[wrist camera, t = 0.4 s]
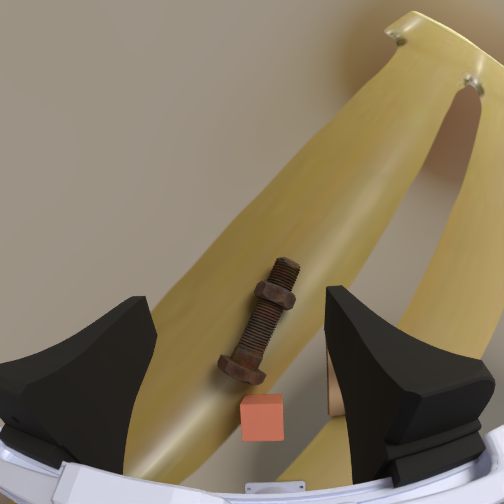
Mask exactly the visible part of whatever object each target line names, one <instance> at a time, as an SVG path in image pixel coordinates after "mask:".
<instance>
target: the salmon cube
mask: <svg viewBox="0 0 504 504" xmlns="http://www.w3.org/2000/svg"><path fill="white" fill-rule="evenodd" d="M240 412H241V427H242V441H278V440H284V432H283V403H282V394H264V395H245V396H244V398H243V400H242V402H241V404H240Z"/></svg>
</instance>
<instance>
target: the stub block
mask: <svg viewBox="0 0 504 504" xmlns="http://www.w3.org/2000/svg"><path fill="white" fill-rule="evenodd" d="M326 354H327V355H326V356H327V381H328V382H327V383H328V414H329V416H336V415H344V414H345V409H344V403H343V399H342V395H341V391H340V388H339V385H338V382H337V378H336V375H335V372H334V369H333V365H332V362H331V359H330V356H329V352H328V348H327V343H326Z"/></svg>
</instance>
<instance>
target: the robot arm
mask: <svg viewBox="0 0 504 504" xmlns="http://www.w3.org/2000/svg"><path fill="white" fill-rule="evenodd" d="M324 330H325V337H326V343H327V348H328V352H329V356H330V359H331V362H332V365H333V369H334V372H335V375H336V378H337V382H338V385H339V388H340V391H341V395H342V399H343V403H344V409H345V416H346V422H347V429H348V437H349V445H350V454H351V465H352V480H353V485H350V486H344V487H338V488H331V489H323V490H315V491H305V482H304V481H290V482H267V483H246V484H245V494H231V493H212V492H206V491H203V490H200V489H194V488H188V487H183V486H178V485H172V484H165V483H159V482H153V481H147V480H142V479H137V478H132V477H128V476H123V462H124V453H125V446H126V439H127V433H128V428H129V423H130V418H131V414H132V410H133V406H134V402H135V399H136V396H137V394H138V391H139V389H140V386H141V384H142V381H143V379H144V376H145V374H146V371H147V369H148V366H149V363H150V361H151V358H152V356H153V352H154V348H155V344H156V339H157V332H156V329H155V326H154V323H153V320H152V317H151V314H150V310H149V307H148V304H147V300H146V297H145V296H133V297H130V298H128V299H127V300H125V301H124V302H122V303H121V304H119V305H118V306H116V307H115V308H113V309H112V310H111V311H109V312H108V313H106V314H105V315H104V316H102V317H101V318H99V319H98V320H96V321H95V322H93V323H92V324H90V325H89V326H87V327H86V328H84V329H83V330H81V331H80V332H78V333H77V334H75V335H73V336H72V337H70V338H68V339H66V340H65V341H62V342H61V343H59V344H57V345H54V346H52V347H50V348H48V349H46V350H43V351H41V352H38V353H36V354H33V355H30V356H27V357H24V358H21V359H18V360H14V361H10V362H5V363H1V364H0V418H1V419H2V420H3V422H4V423H5V425H4V427H3V428H1V427H0V492H1V493H3V494H4V495H5V496H7V497H9V498H10V499H12V500H13V501H15V502H16V503H18V504H503V503H504V425H502V426H500V427H498V428H496V429H494V430H492V431H490V432H489V433H487V434H486V435H484V436H483V437H482V438H481V436H480V434H479V432H478V431H479V430H480V429H481V424H480V421H479V420H478V417H479V416H480V414H481V413H482V411H483V410H484V408H485V407H486V405H487V404H488V402H489V401H490V399H491V397H492V395H493V393H494V388H495V380H494V378H493V376H492V375H491V373H490V372H489V370H488V369H487V368H486V366H485V364H484V363H483V362H482V360H478V359H474V358H470V357H465V356H461V355H457V354H454V353H451V352H448V351H445V350H442V349H439V348H436V347H434V346H431V345H429V344H427V343H424V342H422V341H420V340H418V339H416V338H414V337H412V336H410V335H408V334H406V333H404V332H403V331H401V330H399V329H397V328H396V327H394V326H393V325H391V324H390V323H388V322H386V321H385V320H384V319H382V318H381V317H380V316H378V315H377V314H376V313H374V312H373V311H372V310H370V309H369V308H368V307H367V306H365V305H364V304H363V303H362V302H360V301H359V300H358V299H357V298H356V297H355V296H354V295H352V294H351V293H350V292H349V291H348V290H347V289H345V288H344V287H343V286H342V285H340V286H328V287H326V304H325V323H324ZM300 486H303V487H302V488H301V487H300ZM247 488H250V489H247Z"/></svg>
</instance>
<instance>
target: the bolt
mask: <svg viewBox="0 0 504 504" xmlns="http://www.w3.org/2000/svg"><path fill="white" fill-rule="evenodd" d="M276 260H277V261H275V266H273V269H272V270H273V271H271V273H270V276H269V278H268V281H267V282H266V281H261V282H259V283H258V284H257V286H256V288H255V290H254V293H255V296H256V297H257V298H259V299H258V300H259V302H257V303H258V304H256V306H257V307H255V310H254V312H252V313H253V315H251V316H252V317H250V319H251V320H249V321H250V322H249V323H248V324H249V325H247V328H246V330H245V333H243V334H244V335H242V337H243V338H241V340H240V343H238V345H237V346H236V348H235V350H234V352H233V354H232V356H231V357H229V356H225V355H222V354H221V356H220V358H219V360H218V362H217V363H218V367H219V369H220V370H221V371H223V372H224V373H226V374H228V375H229V376H231V377H233V378H235V379H237V380H240V381H243V382H245V383H248V384H252V385H259V384H261V383H263V381H264V379H265V377H266V374H265V373H263V372H262V371H260V370H259V369H258V367H259V365H260V363H261V361H262V357H263V354H264V352H263V351H265V349H266V346H268V345H267V343H269V342H268V341H270V339H269V338H271V336H270V335H273V334H272V333H274V332H273V330H275V329H274V328H276V326H275V325H277V324H276V323H277V322H278V321H277V320H279V318H278V317H280V314H281V312H283V311H282V309H285V310H289V309H292V308H293V306H294V303H295V301H296V298H295V295H294V294H293V293H292V292H290V291H292V290H291V289H292V288H293V287H292V286H294V285H293V284H295V282H294V281H296V279H297V277H296V276H298V274H299V271H300V269H299V268H300V266H299V264H297V263H295V262H294V261H292V260H290V259H288V258H285V257H282V258H281V257H280V258H277V259H276Z"/></svg>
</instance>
